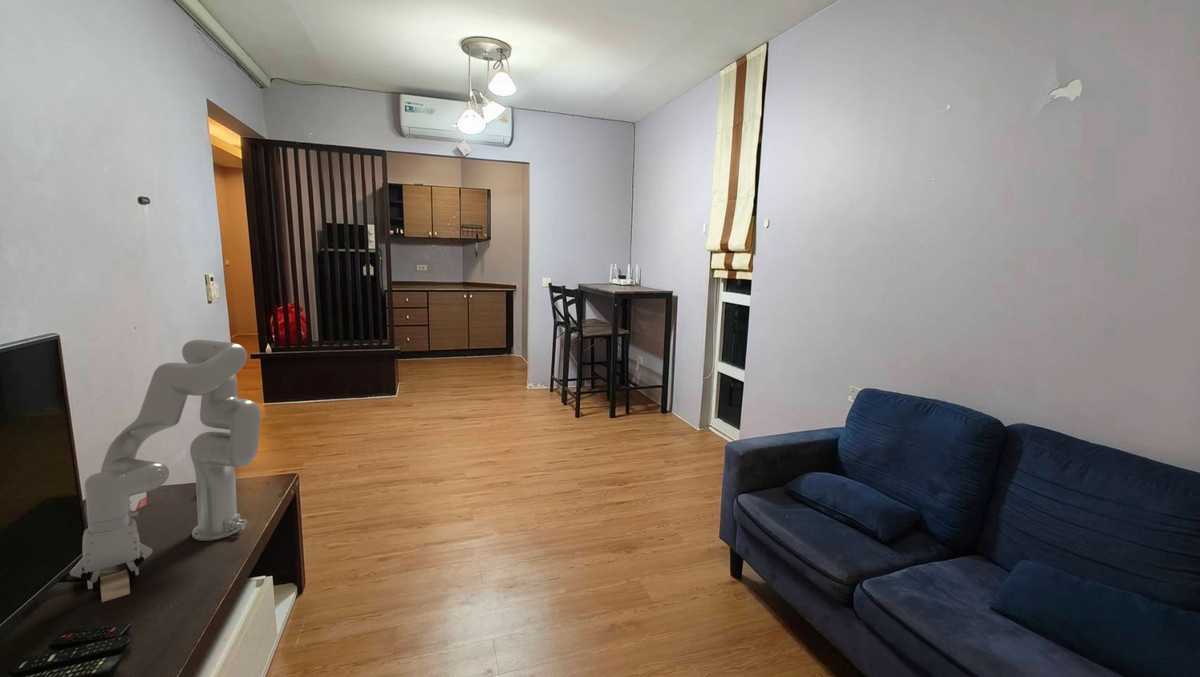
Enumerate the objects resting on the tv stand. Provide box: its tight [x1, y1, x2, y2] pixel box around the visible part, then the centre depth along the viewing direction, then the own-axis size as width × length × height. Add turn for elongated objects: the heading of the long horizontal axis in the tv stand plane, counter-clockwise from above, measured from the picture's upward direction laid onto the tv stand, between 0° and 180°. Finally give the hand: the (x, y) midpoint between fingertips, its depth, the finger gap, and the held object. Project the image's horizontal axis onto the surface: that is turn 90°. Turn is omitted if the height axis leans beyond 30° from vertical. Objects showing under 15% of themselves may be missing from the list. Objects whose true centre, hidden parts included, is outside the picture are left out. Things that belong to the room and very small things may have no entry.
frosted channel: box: [86, 566, 140, 590], centre depth 134 cm, size 20×9×3 cm, turn 47°
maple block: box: [100, 569, 131, 603], centre depth 123 cm, size 5×5×4 cm
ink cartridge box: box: [130, 492, 148, 511], centre depth 160 cm, size 9×5×15 cm, turn 179°
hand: (115, 587), depth 124 cm, fingers closed on maple block, 5 cm apart
